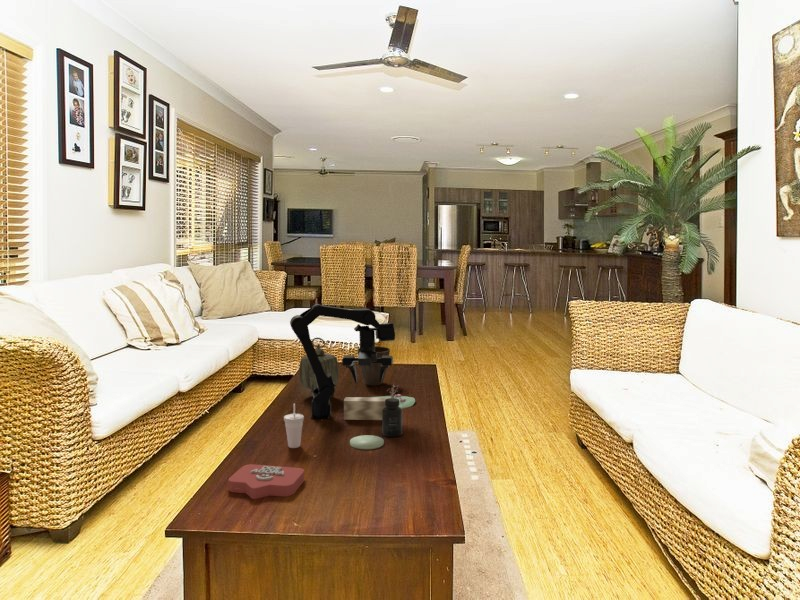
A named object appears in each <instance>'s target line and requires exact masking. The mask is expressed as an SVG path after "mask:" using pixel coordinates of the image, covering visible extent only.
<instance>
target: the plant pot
mask: <svg viewBox="0 0 800 600" xmlns="http://www.w3.org/2000/svg"><path fill="white" fill-rule="evenodd" d="M356 351H357V356H358V355H359V351H360V347H359V348H357V349H356ZM375 352H377V358H382V356H390V354H391V353H390V352H391V349H390V348H388V347H385V346H375ZM381 365H382V364H381V363H372V365H370V366H367V365H362V366H360V365H359V366H360V367H359V368H360V370H361V374H362V377H363V380H364V382H365V384H366V385H367V386H372V387H373V386H381V385H382V384H383V381H384V379H385V375H386V373H387V370H388V368H386V369H385V371H384V374H383V377H382V381H381V383H380V367H381Z"/></svg>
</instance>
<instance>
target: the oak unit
mask: <svg viewBox="0 0 800 600" xmlns="http://www.w3.org/2000/svg"><path fill="white" fill-rule="evenodd" d="M371 397H372V396H370V397H369V396H368V397H365V396H363V397H361V396H360V397H357V396H355V397H354V396H353V397H344V399H343V420H344V421H345V420H347V421H348V420H349V421H352V420H353V421H354V420H357V421H359V420H360V421H365V420H366V421H382V410H383V408H384V407H386V406H385V400H386V399H388V398H371Z"/></svg>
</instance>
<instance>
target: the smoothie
mask: <svg viewBox="0 0 800 600" xmlns="http://www.w3.org/2000/svg"><path fill="white" fill-rule="evenodd" d="M292 404H293V407H292V408H293V413H290V414H288V413H287V414H286V415H284V416H283V421H284V425H285V430H286V438H287V447H289V448H290V449H297V448H299V447H301V441H302V433H303V424H304V420H305V416H304V415H303V414H302V413H296V403H292Z"/></svg>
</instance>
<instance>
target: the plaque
mask: <svg viewBox="0 0 800 600" xmlns="http://www.w3.org/2000/svg"><path fill="white" fill-rule="evenodd" d="M304 482H305V469H303V468H301V467H292V466H291V467H290V466H289V467H288V466H277V465H267V464H265V465H264V464H252V463H250V464H248V463H247V464H246V465H243V466H241V467H240V468H239V469H238V470H237V471H236V472H235V473H233V474H232V475H231V476H230V477H229V478H228V491H229V492H230V493H231V492H232V493H237V494H238V493H239V494H246V495H247V496H248V497H249V498H251V499H252V500H256V499H257V500H258V499H261V498H265V497H268V496H272V497H273V496H275V497H290V496H292V495H294V494H295V493H296V492H297V491H298V489H299V488H300V486H302V484H303V483H304ZM230 487H232V488H230ZM235 488H240V489H235Z"/></svg>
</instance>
